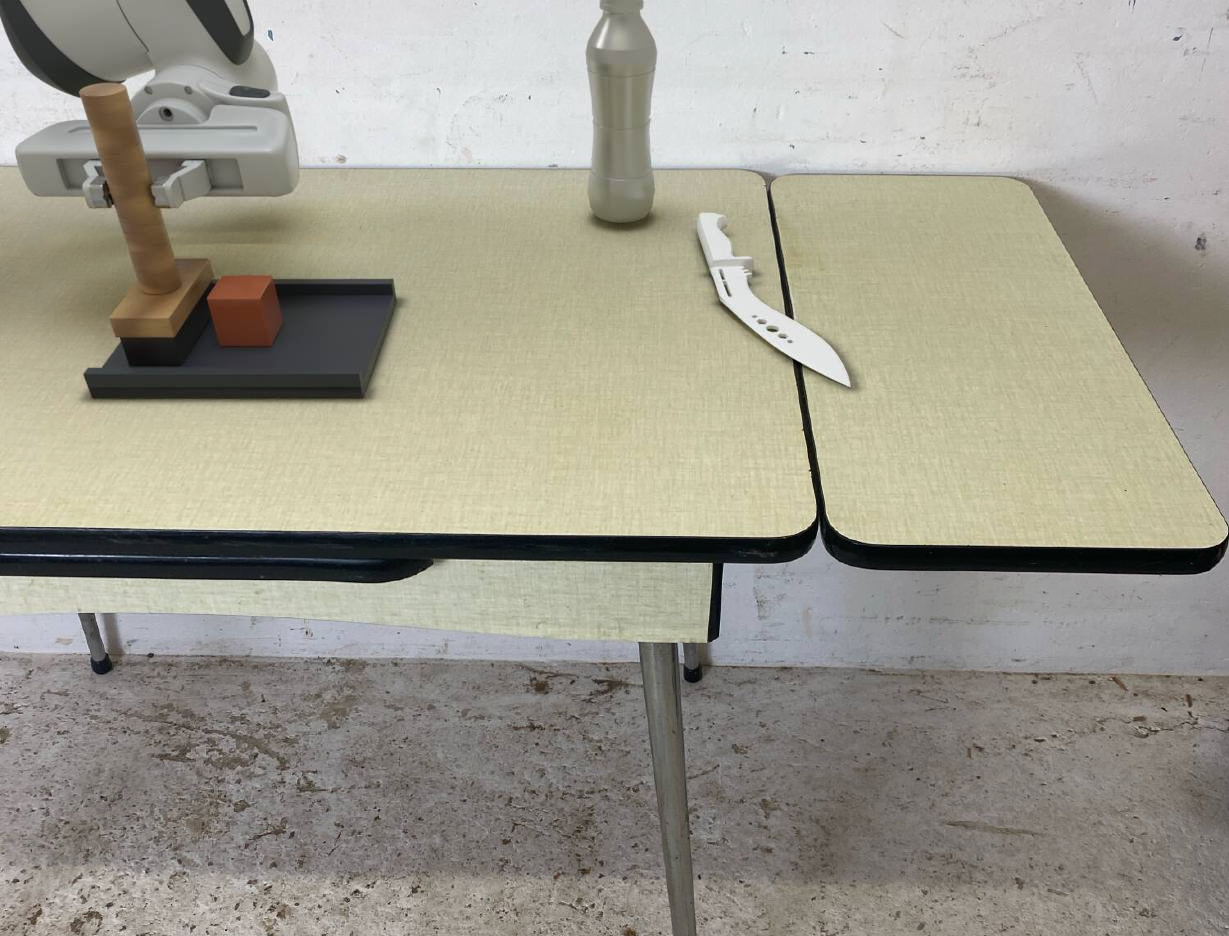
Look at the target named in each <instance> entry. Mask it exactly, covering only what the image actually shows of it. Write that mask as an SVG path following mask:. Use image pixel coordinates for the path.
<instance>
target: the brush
mask: <svg viewBox="0 0 1229 936" xmlns="http://www.w3.org/2000/svg"><path fill="white" fill-rule="evenodd" d="M79 94H80V97H81V98H80V100H81V104H82V106H83V110H84V112H85V113H84V114H85V116H86V120H88V123H89V126H90V129H91V132H92V135H93V139H94V142H95V145H96V148H97V151H98V155H99V158H100V161H101V164H102V167H103V171H104V174H105V177H106V180H107V184H108V187H109V190H110V193H111V196H112V200H113V203H114V205H113V206H114V209H115V212H116V215H117V218H118V219H117V220H118V222H119V225H120V228H121V231H122V235H123V238H124V240H125V241H124V242H125V244H126V247H127V251H128V254H129V257H130V260H131V264H132V267H133V270H134V273H135V276H136V279H137V281H136V282H135V284H134V285H133V286H132V288H131V289H130V290H129V291H128V292H127V294H126V295H125V296H124V297H123V299H122V300H121V301H120V303H118V306H117V307H116V308H115V309H114V310H113V311H112V313H111V315H110V316H108V319H109V322H110V323H109V324H110V326H111V329H112V331H113V335H114V337H115V338H119V341H120V342H121V343H122V346H123V349H124V352H125V355H126V358H127V361H128V364H129V366H181V365H182V364H183V362H184V361H185V359H186V358H187V356H188V354H189V353H190V351H191V349H192V348H193V346H194V345H195V343H196V341H197V340H198V338H199V337H200V335H201V333H202V332H203V330H204V329H205V327H206V325H207V324H208V322H209V320H210V319H211V317H212V315H211V312H210V308H209V304H208V301H207V297H208V296H209V294H210V292H211V291H212V289H213V288H214V287H213V283H212V280H213V279H215V274H214V271H213V266H212V263H211V259H210V258H209V257H208V258H206V257H205V258H204V257H203V258H202V257H200V258H199V257H198V258H191V257H190V258H189V257H188V258H184V257H183V258H180V257H179V258H178V257H177V258H176V257H175V254H174V250H173V247H172V244H171V239H170V237H169V233H168V230H167V226H166V223H165V219H164V216H163V212H162V211H163V210H162V208H157V207H156V205H155V202H154V200H155V197H154V196H153V195H152V191H151V184H152V182H153V180H152V176H151V173H150V169H149V166H148V162H147V159H146V155H145V152H144V148H143V145H142V141H141V138H140V134H139V131H138V127H137V123H136V120H135V116H134V113H133V109H132V106H131V102H130V100H131V99H130V95H129V92H128V88H127V86H126V85H125V84H123V83H121V84H119V83H100V84H94V85H90V86H86V87H84V88H82V89H81V90H80V91H79Z"/></svg>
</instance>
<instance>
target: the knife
mask: <svg viewBox="0 0 1229 936" xmlns="http://www.w3.org/2000/svg"><path fill="white" fill-rule="evenodd" d="M695 226H696V232H697V235H698V239H699V241H700V244H701V247H702V251H703V254H704V257H705V260H706V263H707V266H708V269H709V273H710V275H711V277H712V278H713V281H714V284H715V288H716V289H717V294H718V299H719V301H720V302H721V303H722V304H723V305H724V306H726V307H727V308H728V309H729V310H730V311H731V312H732V313H733V314H734V315H735V316H737V317H738V319H740V320H741V321H742V322H743V323H745V325H746V326H748V327H749V328H750V329H752V330H753V332H755V333H756V334H758V335H759V336H760V337H761V338H762V339H764V340H766V341H767V342H768V343H769V344H771V346H774V347H775V348H776V349H778V350H779V351H780V352H782V353H784V354H785V355H787V356H789V357H790V358H792V359H793V360H796V361H797V362H799V363H801V364H802V365H804V366H806V367H808V368H810V369H812V370H814V371H816V372H817V373H819V374H821V375H823V376H825V377H827V378H829V379H831V380H833V381H836V382H837V383H840V384H841V385H845V386H846V387H849V388H851V381H850V377H849V374H848V372H847V369H846V368H845V365H844V363H843V362H842V360H841V358H840V356H839V355H838V354H837V352H836V351H835V350H834V348H833V347H832V346H831V345H830V344H829V343H827V342H826V340H825V339H823V338H822V337H821V336H819V335H818V334H816V333H815V332H814V331H813V330H810V329H809V328H808V327H806V326H804V325H802V324H801V323H799V322H798V321H795V320H794V319H792V318H790V317H789V316H787V315H785V314H783V313H781V312H779V311H777V310H776V309H774V308H772V307H770V306H769V305H767V304H765V303H764V302H763V301H761V300H760V299H759V298H758V297H757V296H756V295H754V293H753V292H752V291H751V288H750V286H749V284H748V280H749V279H752V278H753V271H754V268H755V267H754V266H755V261H754V258H753V257H752V256H750V255H746V256H734V248H733V244H732V242H731V241H730V239H729V238H728V236H727V235H726V234H725V233H724V231H725V230H726V229H727V227H728V226H729V221H728V218H727V217H726V215H724V214H721V213H720V214H719V213H714V212H700V213H699V214H698V216H697V218H696V220H695ZM722 278H723V279H722ZM726 289H727V290H726ZM727 292H728V293H727ZM769 330H776V331H769Z"/></svg>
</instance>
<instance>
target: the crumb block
mask: <svg viewBox="0 0 1229 936" xmlns="http://www.w3.org/2000/svg"><path fill="white" fill-rule="evenodd" d="M218 279H219V280H218V282H217V283H216V285H215V286H214V288H213V289H212V291H211V292H210V294H209V296H208V297H207V301H208V304H209V308H210V312H211V315H212V319H213V323H214V327H215V330H216V334H217V338H218V341H219V345H220V346H271V345H272V344H273V342H274V340H275V338H276V336H277V334H278V332H279V330H280V328H281V326H282V324H283V320H282V316H281V311H280V307H279V302H278V298H277V293H276V289H275V284H274V280H273V279H274V276H273V275H271V274H269V275H265V274H264V275H263V274H261V275H260V274H259V275H257V274H256V275H250V274H249V275H248V274H247V275H246V274H245V275H237V274H235V275H233V274H232V275H231V274H230V275H224V274H223V275H220V277H219V278H218Z"/></svg>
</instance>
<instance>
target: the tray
mask: <svg viewBox="0 0 1229 936" xmlns="http://www.w3.org/2000/svg"><path fill="white" fill-rule="evenodd" d="M219 279H220V278H213V280H212V283H213V287H214V286H215V285H216V283H217V282H218V280H219ZM273 280H274V284H275V289H276V293H277V298H278V302H279V307H280V311H281V316H282V320H283V324H282V326H281V328H280V330H279V332H278V334H277V336H276V338H275V340H274V342H273V344H272V345H271V346H220V345H219V341H218V338H217V334H216V330H215V327H214V323H213V319H212V317H211V319H210V320H209V322H208V324H207V325H206V327H205V329H204V330H203V332H202V333H201V335H200V337H199V338H198V340H197V341H196V343H195V345H194V346H193V348H192V349H191V351H190V353H189V354H188V356H187V358H186V359H185V361H184V362H183V364H182V365H181V366H129V364H128V361H127V358H126V355H125V352H124V349H123V346H122V343H121V341H119V342H118V345H117V346H116V347H115V348H114V349H113V352H111V354H110V355H109V357H108V358H107V359H106V360H105V362H104V364H103V365H102V366H101V367H87V368H86V370H85V371H84V372H83V373H82V374H83V378H84V381H85V383H86V386H87V388H88V389H87V390H88V392H89V394H90V397H91V398H92V399H333V398H334V399H363V398H364V396H365V393H366V390H367V387H368V384H369V381H370V379H371V376H372V372H373V371H374V367H375V365H376V361H377V359H378V356H379V352H380V350H381V347H382V344H383V341H384V338H385V336H386V333H387V329H388V327H389V324H390V321H391V319H392V315H393V313H394V310H395V307H396V304H397V301H398V300H397V294H396V293H397V292H396V286H395V280H394V278H273Z"/></svg>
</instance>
